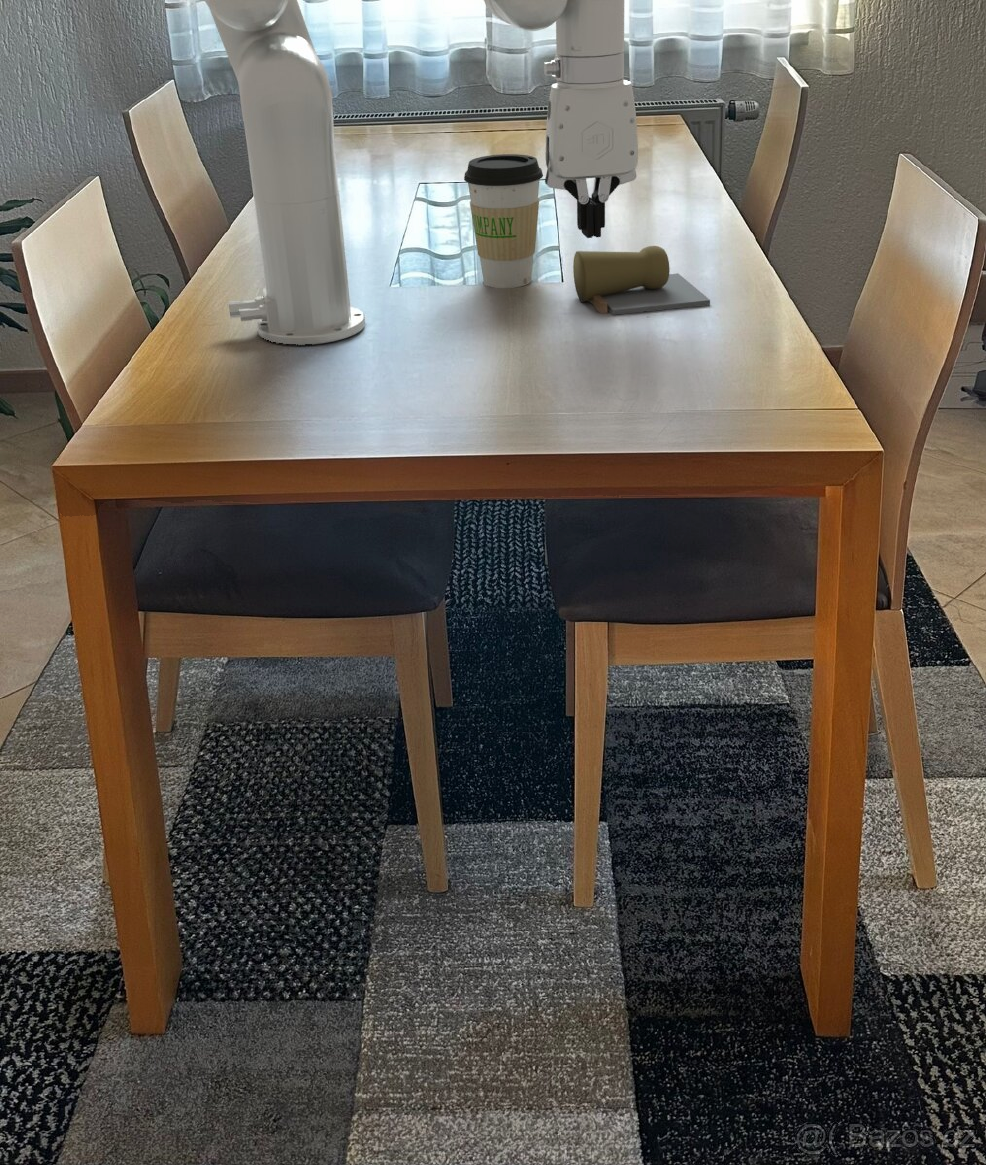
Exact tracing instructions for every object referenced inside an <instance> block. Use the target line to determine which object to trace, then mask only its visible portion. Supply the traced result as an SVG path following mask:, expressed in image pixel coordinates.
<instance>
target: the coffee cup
mask: <svg viewBox="0 0 986 1165" xmlns="http://www.w3.org/2000/svg"><path fill="white" fill-rule="evenodd" d="M543 177H544V174H543V169H542V168H541V167H540V166H539V162H538V158H536V157H535V156H531V155H528V154H527V155H526V154H520V153H519V154H516V153H513V154H512V153H510V154H509V153H508V154H507V153H506V154H505V153H503V154H491V155H485V156H483V155H482V156H479V157H475V158H473V159H470V160H469V161H468V165H467V170H466V171H465V172H464V176H463V181H464V182H466V183H467V185H468V186H467V187H468V194H469V198H470V199H469V200H470V201H469V208H470V214H471V218H472V224H473V225H472V226H473V230H474V238H475V243H476V251H477V255H478V257H479V261H480V262H479V263H480V267H481V273H482V274H481V275H482V280H483V284H484V285H486V286H487V287H491V288H497V289H511V288H519V287H525V286H526V285H529V284H530V283H531V282H532V279H533V278H532V276H533V265H534V264H533V263H534V255H535V253H536V242H537V232H538V231H537V230H538V220H539V219H538V217H539V209H540V208H539V207H540V198H539V193H540V191H539V190H540V181H541V179H543Z"/></svg>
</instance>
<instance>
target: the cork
mask: <svg viewBox="0 0 986 1165" xmlns="http://www.w3.org/2000/svg"><path fill="white" fill-rule="evenodd" d="M573 256H574V257H573V265H572V267H573V272H572V273H573V282H574V287H575V292H576V294H577V295H576V296H577V297H578V300H579V301H580V302H581V303H584V302H588V301H589V300H591V299H592V297H593V295H600V296H601V297H603V296H606V295H610V294H614V293H618V292H622V291H625V290H629V289H633V288H637V287H641V286H642V287H644V288H646V289H651V290H652V289H659V288H661V287H663V286H664V285H665V284H666V283H667V281H668V278H669V274H671V273H670V270H671V269H670V260H669V256H668V254H667V252H666V251H665V249H664V248H663V247H660V246H658V245H649V246H646V247H643V248H641V250H639V251H597V250H596V251H593V250H592V251H591V250H590V251H588V250H583V251H582V250H577V251H575V253H574V255H573Z"/></svg>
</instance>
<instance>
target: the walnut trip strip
mask: <svg viewBox="0 0 986 1165" xmlns="http://www.w3.org/2000/svg"><path fill="white" fill-rule="evenodd" d="M588 301H589V303H590V304H592V306H593V307H594V308H595V309H596V310H597V311H598V312H599V313H600V314H607V313H608V309H607V302H606V301H605V300H604V299H603V298H602V297H601V296H600V295H593V297H592V299H591V300H588Z"/></svg>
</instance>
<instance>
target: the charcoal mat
mask: <svg viewBox="0 0 986 1165" xmlns="http://www.w3.org/2000/svg"><path fill="white" fill-rule="evenodd" d="M602 298H603V299H604V300H605V301H606V302H607V311H608V312H609V313H610V314H611V315H612V316H615V315H624V314H626V315H627V314H634V313H645V312H644V311H647V312H654V311H655V310H656V311H662V309H666V310H675V309H674V308H676V309H683V308H685V307H686V308H694V307H695V308H696V307H703V306H704V307H705V306H710V305H711V300H710V298H709V297H707V296H706V295H705V294H704V293H703V292H701V291H700V290H699V289H698V288H697V287H696V286H694V285H693V284H692V283H691V282H689V281H688V280H687V279H686V278H685V277H683V276H682V275H681V274H680V273H678V272H677V273H669V278H668V281H667V283H666V284H665V285H664V286H663V287H661V288H659V289H652V290H651V289H646V288H644V287H642V286H641V287H637V288H633V289H629V290H625V291H622V292H618V293H614V294H610V295H606V296H603V297H602ZM652 310H653V311H652ZM656 311H655V312H656Z"/></svg>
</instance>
